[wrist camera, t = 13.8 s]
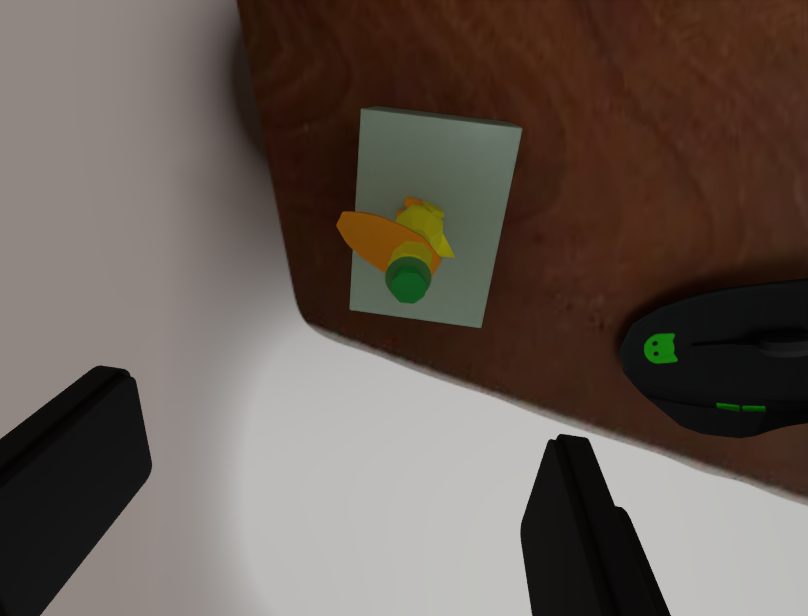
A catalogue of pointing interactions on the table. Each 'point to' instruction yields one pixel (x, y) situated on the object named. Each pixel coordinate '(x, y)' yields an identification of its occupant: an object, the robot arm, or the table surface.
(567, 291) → the table surface
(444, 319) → the green box
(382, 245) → the toy figure
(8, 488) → the robot arm
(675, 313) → the computer mouse
